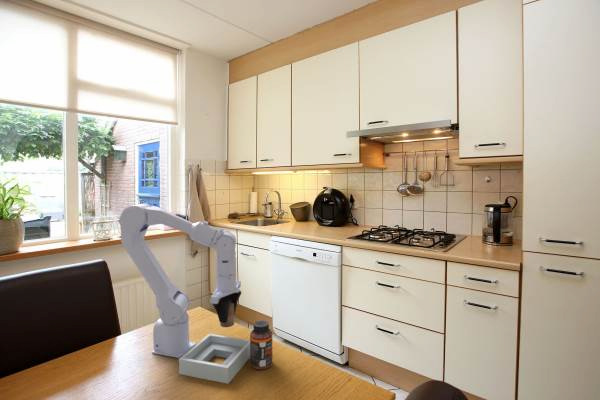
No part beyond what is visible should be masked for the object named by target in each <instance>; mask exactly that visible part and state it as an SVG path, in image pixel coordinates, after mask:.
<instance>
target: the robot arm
mask: <svg viewBox="0 0 600 400" xmlns="http://www.w3.org/2000/svg"><path fill="white" fill-rule="evenodd" d="M118 223H119V225H120V242H121V244H122V246H123V247H124V249H125V250H126V252H127V254H128V255H129V257H130V259H131V260H132V262H133V263H134V265H135V266H136V268H137V269H138V271H139V273H141V275H142V277H143V278H144V280H145V281H146V283H147V285H148V286H149V288H150V289H151V291H152V293H153V294H154V295H155V306H156V308H157V309H158V312H159V313H158V314H159V318H158V319H157V321H155V323H154V325H153V329H152V338H153V340H152V341H153V350H152V351H151V354H156V355H160V356H166V357H172V358H176V359H179V358H181V357H182V356H183V355H184V354H185V353H187V352H188V351H189V350H190V349H191V348H193V347H194V346H195V345H196V344H197V343H196V342H193V341H190V324H189V322H190V319H189V318H190V316H189V314H188V312H187V309H188V308H189V306H190V304H191V303H190V302H191V301H190V297H189V296H188V295H187V294H186V293H184V292H183V291H182V290H181V289H180V287H179V286H178V285H175V284H174V283H173V282H172V280H171V279H170V278H169V277H168V275H167V273H166V272H165V270H164V268H163V266H162V265H161V264H160V262H159V261H158V259H157V257H156V256H155V254H154V253H153V251H152V250H151V248H150V246H149V244H147V241H146V239H145V236H146V234H147V232H148V228H149V227H150V226H155V225H164V226H166V227H168V228H171V229H175V230H177V231H180V232H183V233H185V234H187V235H188V236H189V238H190V239H191V241H194V242H196V243H198V244H201V245H204V246H206V247H207V248H210V249H214V250H215V251H216V259H215V266H216V272H215V273H216V275H215V276H216V278H215V279H216V288H215V290H214V291H213V293H212V294H211V296H210V304H211V305H212V306H213V307H214V309H215V311H216V315H217V318H218V321H219V323H220V322H223V323H226V322H227V320H228V310H229V306H230V303H231V302H232V303H234V316H235V315H236V311H237V305H238V302H239V299H240V297H241V295H242V291H241V287H242V285H241V284H242V283H241V280H237V257H236V254H237V253H236V252H237V251H236V245H237V238H236V236H235V235H234V233H232V232H230V230H225V231H224V228H216V227H214V226H212V225H209V222H208V221H198V222H192V221H190V220H187V219H186V218H183V217H181V216H179V215H177V214H174V213H172V212H170V211H168V210H166V209H164V208H161V207H159V206H157V205H152V204H150V203H146V202H143V203H139V204H137V205H129V206H127V207H125V208H124V209H123V210H122V212H121V214H120V217H119V219H118Z"/></svg>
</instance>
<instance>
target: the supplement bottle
mask: <svg viewBox="0 0 600 400" xmlns="http://www.w3.org/2000/svg"><path fill="white" fill-rule="evenodd" d="M269 327H270V323H269V322H268V321H267V320H257V321H255V322H254V323H253V329H252V330H251V332H250V335H249V336H250V337H249V340H250V358H249V359H250V360H249V361H250V366H251V367H252V368H253V369H255V370H260V371H262V370H266V369H268V368H270V367H271V366H272V364H273V331H272V330H271V329H270V328H269Z"/></svg>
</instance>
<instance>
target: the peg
mask: <svg viewBox="0 0 600 400" xmlns="http://www.w3.org/2000/svg"><path fill="white" fill-rule="evenodd" d="M219 324H220V327H222V328H231V327H233V326H234V325H235V315H234V303H232V302H231V303H230V306H229V310H228V320H227V322H226V323H223V322H220V321H219Z"/></svg>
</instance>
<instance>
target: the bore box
mask: <svg viewBox="0 0 600 400" xmlns="http://www.w3.org/2000/svg"><path fill="white" fill-rule="evenodd" d="M213 357H218V358H224V359H225V360H224V361H223V362H222V363H218V362H217V363H216V362H212V361H211V360H212V359H213ZM249 359H250V339H247V338H239V337H234V336H227V335H221V334H213V333H208V334H207V335H205V337H203V338H202V339H201V340H200V341H199V342H198V343H196V345H194V346H193V347H192V348H191V349H190V350H188V351H187V352H186V353H185V354H184V355H182V356H181V357H180V358H178V373H179V375H182V376H187V377H193V378H198V379H201V380H202V379H203V380H208V381H210V382H211V381H213V382H218V383H220V384H227V385H228V384H230V382H231V381H232V380H233V379H234V378H235V376H236V375H237V373H239V371H241V369H242V368H243V366H244V365H245V364H246V363H247V361H248V360H249Z"/></svg>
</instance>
